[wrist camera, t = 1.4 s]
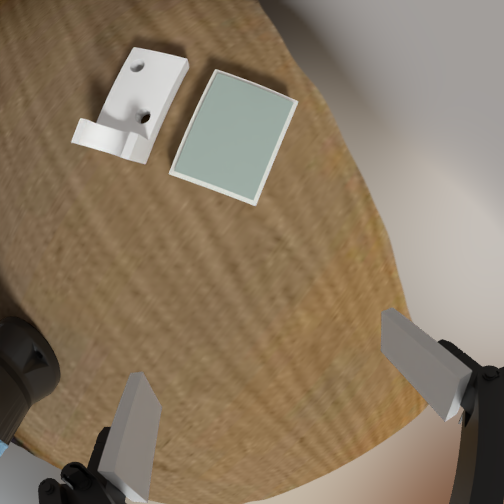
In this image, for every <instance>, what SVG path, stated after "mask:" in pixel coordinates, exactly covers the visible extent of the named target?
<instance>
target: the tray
mask: <svg viewBox="0 0 504 504" xmlns="http://www.w3.org/2000/svg"><path fill="white" fill-rule="evenodd" d="M297 104H298V101H296V100H294V99H292V98H290V97H287V96H285V95H283V94H280V93H278V92H276V91H273V90H271V89H269V88H266V87H264V86H261V85H259V84H256V83H254V82H251V81H248V80H246V79H243V78H240V77H237V76H235V75H232V74H229V73H226V72H223V71H220V70H217V69H215V71H214V73H213V75H212V76H211V78H210V80H209V82H208V84H207V86H206V88H205V91H204V93H203V95H202V97H201V99H200V101H199V103H198V105H197V107H196V110H195V112H194V114H193V116H192V118H191V121H190V123H189V125H188V127H187V130H186V132H185V134H184V137H183V139H182V141H181V144H180V146H179V149H178V151H177V154H176V156H175V159H174V161H173V164H172V166H171V169H170V172H169V174H170V175H173V176H176V177H178V178H181V179H184V180H187V181H190V182H192V183H195V184H198V185H201V186H203V187H206V188H209V189H212V190H214V191H217V192H220V193H222V194H225V195H228V196H230V197H233V198H236V199H238V200H241V201H243V202H246V203H249V204H251V205H254V206H256V204H257V202H258V199H259V197H260V194H261V192H262V189H263V187H264V184H265V182H266V179H267V177H268V174H269V172H270V169H271V167H272V165H273V162H274V160H275V157H276V155H277V152H278V150H279V147H280V145H281V143H282V140H283V138H284V135H285V133H286V130H287V128H288V126H289V123H290V121H291V118H292V116H293V114H294V111H295V109H296V106H297Z"/></svg>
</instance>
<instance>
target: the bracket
mask: <svg viewBox="0 0 504 504" xmlns="http://www.w3.org/2000/svg"><path fill="white" fill-rule="evenodd" d="M188 69H189V64H188V59H186V58H182V57H178V56H174V55H170V54H166V53H161V52H157V51H152V50H147V49H142V48H136V47H134V48H133V49H132V51H131V53H130V54H129V56H128V58H127V60H126V62H125V63H124V65H123V67H122V69H121V71H120V73H119V75H118V77H117V78H116V80H115V82H114V84H113V87H112V89H111V91H110V93H109V95H108V97H107V99H106V101H105V104H104V106H103V108H102V110H101V113H100V115H99V117H98V120H97V122H96V123H94V122H91V121H89V120H86V119H82V118H80V120H79V123H78V125H77V128H76V131H75V133H74V136H73V139H72V141H71V142H72V143H75V144H79V145H83V146H86V147H90V148H93V149H97V150H100V151H104V152H107V153H110V154H113V155H116V156H119V157H121V158H124V159H127V160H131V161H135V162H138V163H142V164H146V162H147V160H148V157H149V154H150V152H151V149H152V147H153V144H154V142H155V139H156V137H157V135H158V132H159V130H160V127H161V125H162V123H163V121H164V118H165V116H166V114H167V112H168V109H169V107H170V105H171V103H172V101H173V99H174V97H175V95H176V92H177V90H178V88H179V86H180V84H181V82H182V80H183V78H184V77H185V75H186V73H187V71H188ZM147 114H151V116H150V119H149V120H148V121H147V122H146V123H144V124H141V120H142V118H143V117H144V116H145V115H147Z"/></svg>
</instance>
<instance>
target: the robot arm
mask: <svg viewBox="0 0 504 504" xmlns="http://www.w3.org/2000/svg"><path fill="white" fill-rule="evenodd" d="M381 352H382V353H383V354H384V355H385V356H386V357H387V358H388V359H389V360H390V362H391V363H392V364H393V365H394V366H395V367H396V368H397V369H398V370H399V371H400V372H401V373H402V375H403V376H404V377H405V378H406V379H407V380H408V381H409V382H410V383H411V384H412V386H413V387H414V388H415V389H416V390H417V391H418V392H419V393H420V394H421V396H422V397H423V398H424V399H425V400H426V401H427V402H428V403H429V405H430V406H431V407H432V408H433V409H434V410H435V411H436V412H437V414H438V415H439V416H440V417H441V418H442V419H443V420H444V422H445V421H447V420H448V419H450V418H451V417H453V416H454V415H456V414H457V412H458V410H459V407H460V405H461V406H462V407H463V408H464V411H463V413H462V416H461V418H460V420H459V424H460V423H461V421H462V431H461V441H460V450H459V457H458V463H457V470H456V475H455V480H454V485H453V490H452V494H451V498H450V502H449V504H503V500H504V367H502V368H499V369H498V368H497V367H494V366H484V367H482V366H481V365H479V364H478V363H477V362H476V361H474V360H473V359H472V358H471V357H469V356H468V355H467V354H466V353H463V351H462V350H460V349H458V347H457V346H455V345H454V344H453V343H451V342H449V341H446V340H443V339H442V340H440V341H438V342H436V341H435V340H434V339H433V338H431V337H430V336H429V335H428V334H426V333H425V332H424V331H422V330H421V329H420V328H419V327H418V326H416V325H415V324H414V323H412V322H411V321H410V320H409V319H407V318H406V317H405V316H403V315H402V314H401V313H399V312H398V311H397V310H395V309H394V308H390V309H387V310H385V311H382V325H381ZM59 381H60V368H59V364H58V361H57V359H56V356H55V354H54V352H53V351H52V349H51V347H50V346H49V344H48V343H47V342H46V340H45V339H44V338H43V337H42V335H41V334H40V333H39V332H38V331H37V330H36V329H35V328H33V327H32V326H31V325H30V324H28V323H27V322H25V321H23V320H21V319H19V318H16V317H6V318H4V319H3V320H1V321H0V457H1V455H2V454H3V452H4V451H5V449H6V448H8V445H9V443H10V441H11V440H12V438H13V436H14V434H15V432H16V431H17V429H18V427H19V425H20V424H21V422H22V420H23V419H24V417H25V415H26V414H27V412H28V410H29V409H30V407H31V406H32V405H33V404H35V403H36V402H38V401H40V400H41V399H43V398H44V397H46V396H48V395H49V394H51V393H52V392H53V391H54V389H55V388H56V386H57V385H58V383H59ZM161 410H162V406H161V404H160V403H159V401H158V399H157V397H156V396H155V394H154V392H153V390H152V388H151V386H150V385H149V383H148V381H147V379H146V377H145V375H144V373H143V372H137V373H130V376H129V378H128V381H127V384H126V386H125V389H124V392H123V395H122V397H121V400H120V403H119V406H118V408H117V411H116V414H115V417H114V420H113V423H112V426H111V427H104V428H103V430H102V431H101V432H100V433H99V435H98V437H97V440H96V444H95V446H94V450H93V452H92V455H91V458H90V461H89V464H88V467H87V468H86V467H85V466H84V465H83V464H81V463H79V462H71V463H68V464H67V465H66V466H64V468H63V469H62V472H61V479H62V480H63V481H64V482H65V483H66V484H59V483H58V482H57V481H56V480H55V479H52V478H47V479H45V480H43V481H42V482H41V483H40V485H39V488H38V493H39V504H126V503H125V498H126V497H127V498H129V499H130V500H131V501H133V502H146V503H147V502H148V496H149V488H150V480H151V472H152V465H153V458H154V452H155V445H156V439H157V433H158V427H159V421H160V416H161Z"/></svg>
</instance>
